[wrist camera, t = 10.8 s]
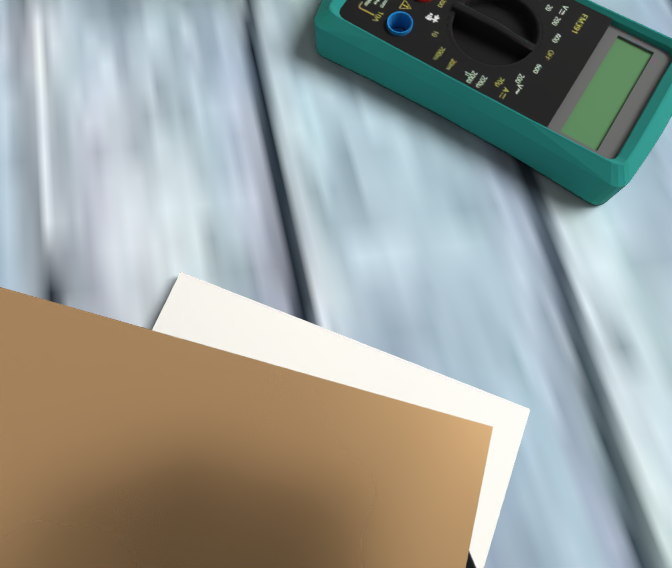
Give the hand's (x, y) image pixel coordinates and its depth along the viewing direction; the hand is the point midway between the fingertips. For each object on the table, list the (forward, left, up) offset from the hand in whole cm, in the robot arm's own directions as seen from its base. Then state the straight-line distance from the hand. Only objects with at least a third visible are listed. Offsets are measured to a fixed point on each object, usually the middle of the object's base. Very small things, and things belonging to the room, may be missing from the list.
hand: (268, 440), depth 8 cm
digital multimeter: (+17, -2, -12) cm, 21 cm away
